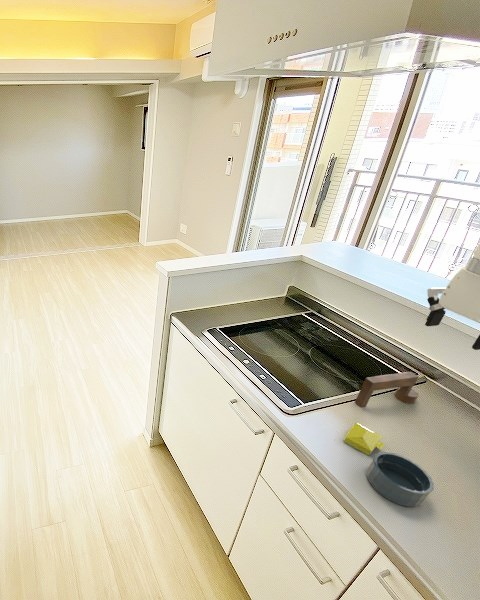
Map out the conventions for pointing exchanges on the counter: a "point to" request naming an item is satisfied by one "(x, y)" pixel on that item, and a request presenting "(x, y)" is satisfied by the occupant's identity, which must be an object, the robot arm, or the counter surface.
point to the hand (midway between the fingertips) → (453, 336)
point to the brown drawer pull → (386, 382)
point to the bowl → (399, 479)
